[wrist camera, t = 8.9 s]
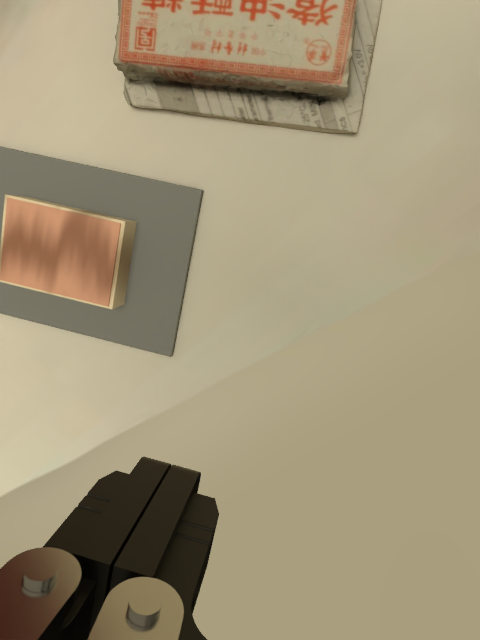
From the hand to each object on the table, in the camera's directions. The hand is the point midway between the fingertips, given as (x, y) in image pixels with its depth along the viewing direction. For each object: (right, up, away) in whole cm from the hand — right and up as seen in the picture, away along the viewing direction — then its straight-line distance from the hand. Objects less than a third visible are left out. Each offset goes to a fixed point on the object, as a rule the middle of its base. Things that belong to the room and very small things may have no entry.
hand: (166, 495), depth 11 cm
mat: (-11, +10, +27) cm, 31 cm away
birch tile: (-7, +9, +25) cm, 28 cm away
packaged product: (+3, +24, +23) cm, 34 cm away
